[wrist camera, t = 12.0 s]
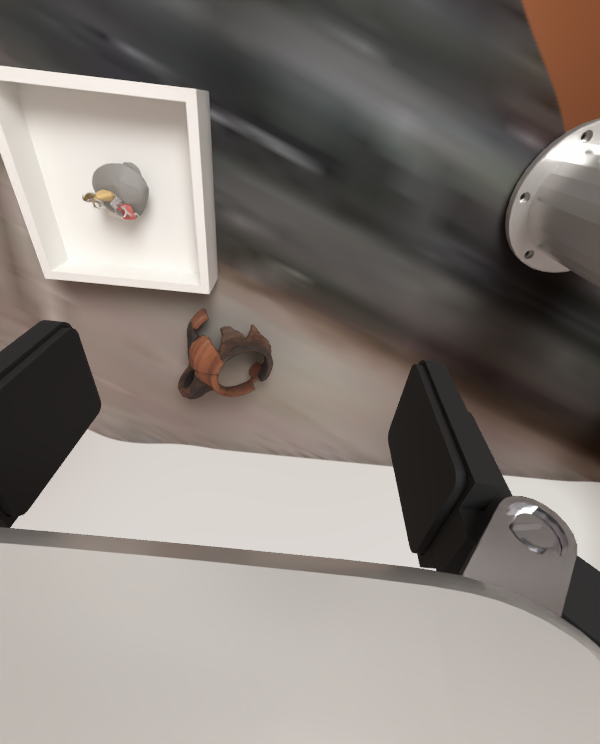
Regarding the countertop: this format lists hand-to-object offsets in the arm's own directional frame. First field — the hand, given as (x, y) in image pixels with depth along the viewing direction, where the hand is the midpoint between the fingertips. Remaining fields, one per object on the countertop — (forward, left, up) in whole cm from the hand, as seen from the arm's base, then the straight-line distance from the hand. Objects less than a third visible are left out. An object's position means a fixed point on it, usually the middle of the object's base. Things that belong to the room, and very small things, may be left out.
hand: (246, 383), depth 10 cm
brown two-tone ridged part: (+7, +17, -28) cm, 34 cm away
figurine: (+14, +1, -27) cm, 31 cm away
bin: (+15, +1, -28) cm, 31 cm away
